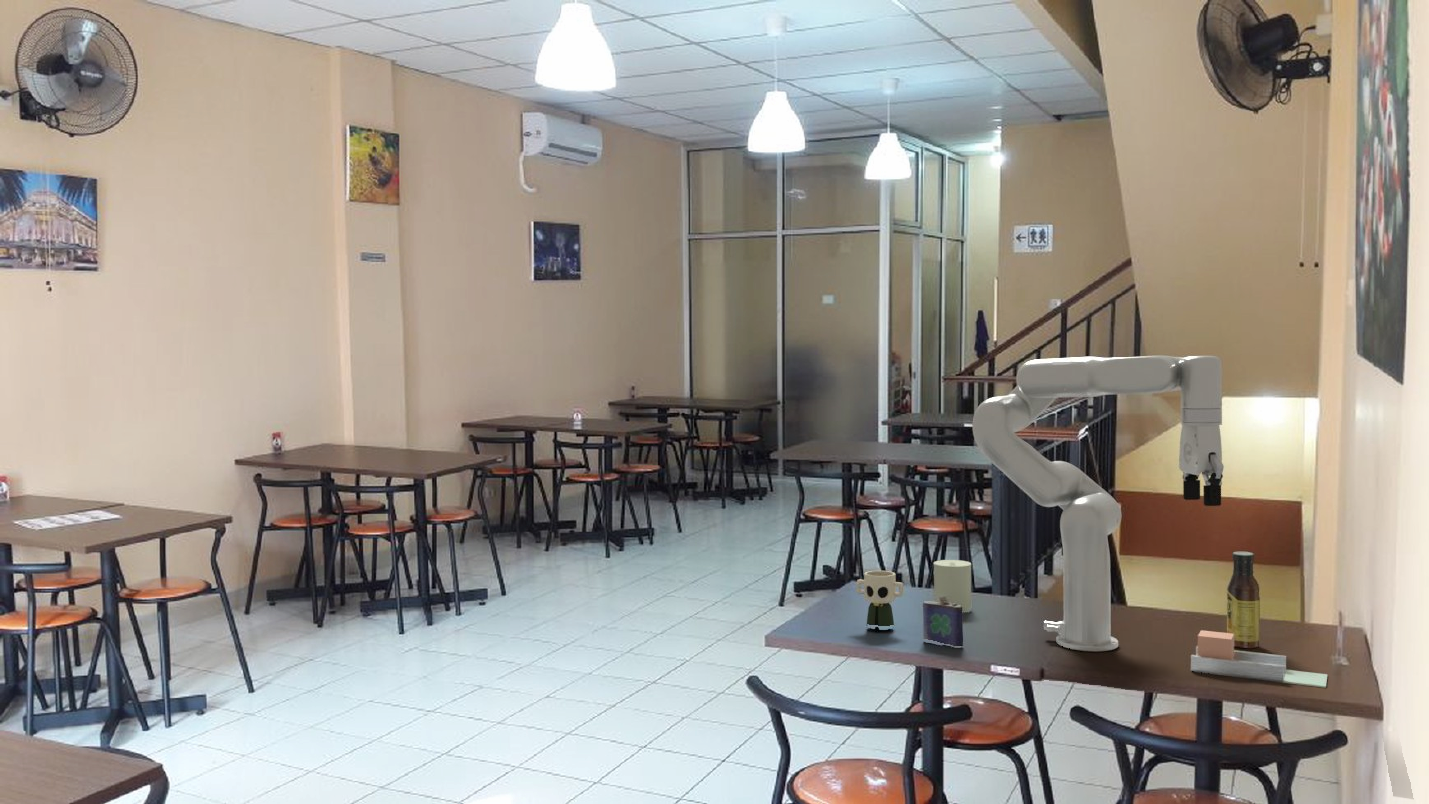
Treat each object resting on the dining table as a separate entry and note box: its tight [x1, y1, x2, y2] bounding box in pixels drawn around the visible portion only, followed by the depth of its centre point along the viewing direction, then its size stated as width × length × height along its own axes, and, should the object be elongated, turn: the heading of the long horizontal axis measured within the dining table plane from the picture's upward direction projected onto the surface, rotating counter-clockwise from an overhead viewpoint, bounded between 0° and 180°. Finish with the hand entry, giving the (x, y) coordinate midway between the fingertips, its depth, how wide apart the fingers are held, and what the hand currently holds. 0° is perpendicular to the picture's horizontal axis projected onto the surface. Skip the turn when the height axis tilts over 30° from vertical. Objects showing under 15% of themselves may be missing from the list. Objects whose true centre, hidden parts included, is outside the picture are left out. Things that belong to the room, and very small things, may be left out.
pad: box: [1283, 669, 1328, 689], centre depth 207 cm, size 7×9×1 cm
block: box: [1197, 630, 1235, 659], centre depth 215 cm, size 6×5×6 cm
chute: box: [1190, 645, 1287, 684], centre depth 213 cm, size 16×9×3 cm, turn 59°
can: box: [933, 559, 973, 611], centre depth 269 cm, size 9×9×12 cm
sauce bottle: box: [1226, 550, 1261, 650], centre depth 231 cm, size 6×6×20 cm
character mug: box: [856, 570, 904, 626], centre depth 250 cm, size 11×7×13 cm, turn 65°
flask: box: [922, 595, 964, 647], centre depth 236 cm, size 9×3×11 cm, turn 50°
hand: (1201, 502), depth 220 cm, fingers open, 9 cm apart
